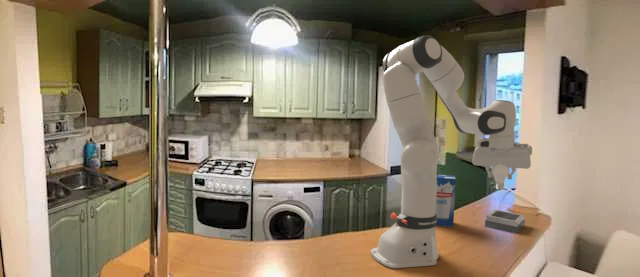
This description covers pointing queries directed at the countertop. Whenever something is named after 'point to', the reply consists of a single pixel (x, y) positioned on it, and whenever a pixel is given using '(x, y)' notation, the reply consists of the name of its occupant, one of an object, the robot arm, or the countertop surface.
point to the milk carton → (445, 200)
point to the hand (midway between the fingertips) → (499, 178)
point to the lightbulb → (500, 175)
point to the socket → (505, 221)
